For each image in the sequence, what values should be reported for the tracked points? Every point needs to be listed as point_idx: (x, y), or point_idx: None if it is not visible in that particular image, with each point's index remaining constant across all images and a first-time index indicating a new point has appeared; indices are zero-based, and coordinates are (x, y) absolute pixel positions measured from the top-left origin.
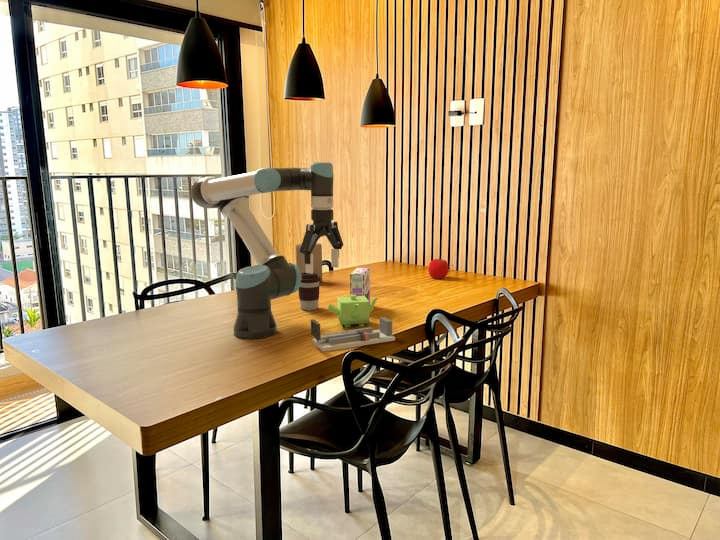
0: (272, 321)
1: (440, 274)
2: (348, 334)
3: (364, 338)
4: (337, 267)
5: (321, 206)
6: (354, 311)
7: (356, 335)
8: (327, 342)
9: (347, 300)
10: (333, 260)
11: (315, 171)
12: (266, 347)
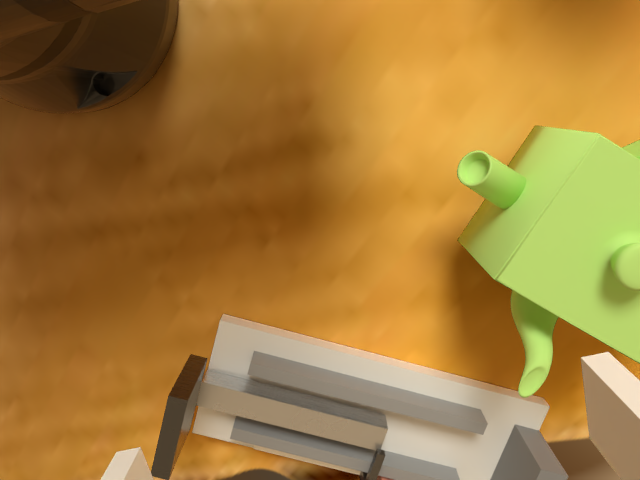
0: (105, 71)
1: None
2: (335, 438)
3: (378, 476)
4: (596, 437)
5: None
6: (519, 332)
7: (354, 464)
8: None
9: (574, 257)
10: (634, 444)
11: None
12: (24, 239)
